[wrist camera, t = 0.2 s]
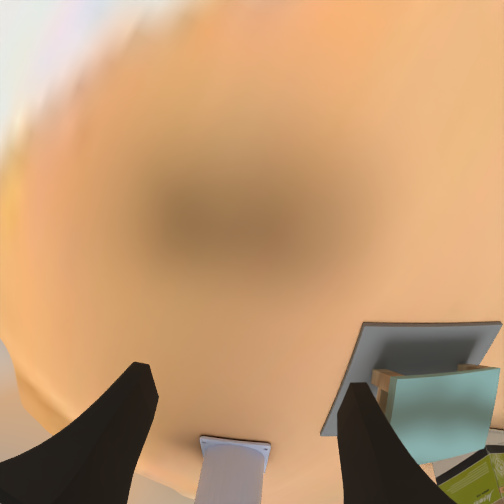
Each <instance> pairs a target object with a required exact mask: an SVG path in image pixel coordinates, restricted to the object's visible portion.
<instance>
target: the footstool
mask: <svg viewBox="0 0 504 504" xmlns="http://www.w3.org/2000/svg"><path fill="white" fill-rule="evenodd" d="M499 374H500V368H495V367H488V366H481V365H474V364H458V367H457V372H448V373H437V374H425V375H410V376H404V375H402V374H399V373H396V372H393V371H390V370H388V369H373V371H372V380H371V384H373V385H375V386H377V387H378V391H377V398H376V400H377V402H378V404H379V406H380V407H381V409H382V411H383V413H384V414H385V416H386V418H387V420H388V421H389V423H390V424H391V426H392V428H393V429H394V431H395V433H396V434H397V436H398V437H399V439H400V440H401V442H402V443H403V445H404V446H405V447H406V449H407V450H408V452H409V453H410V454H411V456H412V457H413V458H414V460H415V461H416V462H417V464H418V465H420V464H425V463H430V462H435V461H439V460H444V459H448V458H452V457H456V456H460V455H463V454H467V453H470V452H474V451H477V450H480V449H484V447H485V444H486V440H487V436H488V432H489V428H490V424H491V419H492V415H493V410H494V405H495V399H496V393H497V387H498V381H499Z"/></svg>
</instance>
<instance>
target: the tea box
mask: <svg viewBox="0 0 504 504" xmlns="http://www.w3.org/2000/svg"><path fill="white" fill-rule="evenodd" d="M432 464H433V469H434V474H435V477H436V482H437V486H438V487H439V488H440V489H441V490H442V491H444V492H445V493H446V494H447V495H448V496H449V497H450V498H451V499H452V500H454V501H455V502H456V503H457V504H504V431H503V430H497V429H490V428H489V432H488V436H487V440H486V444H485V447H484V449H480V450H477V451H474V452H470V453H467V454H463V455H460V456H456V457H452V458H448V459H444V460H439V461H435V462H432Z"/></svg>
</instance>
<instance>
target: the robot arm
mask: <svg viewBox="0 0 504 504" xmlns="http://www.w3.org/2000/svg"><path fill="white" fill-rule="evenodd" d="M158 398H159V396H158V393H157V390H156V386H155V383H154V380H153V376H152V373H151V369H150V366H149V364H144V363H139V362H133V363H132V364H131V365H130V366H129V367H128V368H127V369H126V370H125V372H124V373H123V374H122V375H121V376H120V377H119V378H118V379H117V380H116V381H115V382H114V383H113V384H112V385H111V386H110V387H109V389H108V390H107V391H106V392H105V393H104V394H103V395H102V396H101V397H100V398H99V399H98V400H97V401H95V402H94V403H93V404H92V405H91V406H90V407H89V408H88V409H87V410H86V411H85V412H83V413H82V414H81V415H80V416H79V417H78V418H77V419H75V420H74V421H73V422H72V423H70V424H69V425H68V426H67V427H65V428H64V429H63V430H61V431H60V432H58V433H57V434H55V435H54V436H52V437H51V438H49V439H48V440H46V441H45V442H43V443H42V444H40V445H38V446H36V447H34V448H32V449H30V450H29V451H26V452H24V453H22V454H20V455H18V456H16V457H14V458H11V459H8V460H6V461H3V462H1V463H0V503H1V504H127V500H128V495H129V490H130V486H131V481H132V477H133V473H134V470H135V467H136V464H137V461H138V459H139V456H140V453H141V451H142V448H143V445H144V443H145V440H146V438H147V435H148V432H149V430H150V427H151V424H152V422H153V419H154V415H155V411H156V407H157V402H158ZM337 439H338V447H339V455H340V463H341V471H342V479H343V489H344V504H457V503H456V502H455V501H454V500H452V499H451V498H450V497H449V496H448V495H447V494H446V493H445V492H444V491H442V490H441V489H440V488H439V487H438V486H437V485H436V484H435V483H434V482H433V481H432V480H431V479H430V478H429V476H428V475H427V474H426V473H425V472H424V471H423V470H422V468H421V467H420V466H419V465H418V464H417V462H416V461H415V460H414V458H413V457H412V456H411V454H410V453H409V452H408V450H407V449H406V447H405V446H404V445H403V443H402V442H401V440H400V439H399V437H398V436H397V434H396V433H395V431H394V429H393V428H392V426H391V424H390V423H389V421H388V420H387V418H386V416H385V414H384V413H383V411H382V409H381V407H380V406H379V404H378V402H377V400H376V398H375V396H374V395H373V393H372V391H371V389H370V387H369V385H368V384H367V383H366V382H350V384H349V387H348V389H347V391H346V394H345V396H344V399H343V401H342V403H341V405H340V408H339V410H338V412H337ZM200 444H201V449H202V454H203V458H204V459H203V464H202V469H201V474H200V479H199V483H198V488H197V493H196V498H195V503H194V504H261V497H262V486H263V474H264V473H265V470H266V466H267V461H268V457H269V453H270V448H271V445H270V444H269V443H259V442H247V441H237V440H229V439H221V438H213V437H207V436H201V437H200Z"/></svg>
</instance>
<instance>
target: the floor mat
mask: <svg viewBox="0 0 504 504" xmlns="http://www.w3.org/2000/svg"><path fill="white" fill-rule="evenodd" d="M502 325H503V324H502V323H501V322H481V323H435V324H409V323H363V325H362V328H361V331H360V334H359V337H358V340H357V343H356V346H355V349H354V352H353V354H352V357H351V360H350V363H349V365H348V368H347V371H346V373H345V376H344V379H343V381H342V384H341V386H340V389H339V391H338V394H337V396H336V398H335V401H334V403H333V406H332V408H331V410H330V413H329V415H328V417H327V419H326V422H325V424H324V426H323V428H322V431H321V433H320V436H337V412H338V410H339V408H340V405H341V403H342V401H343V399H344V396H345V394H346V391H347V389H348V387H349V384H350V382H366V383H367V384H368V385H369V387H370V389H371V391H372V393H373V395H374V396H375V398H377V391H378V387H377V386H375V385H373V384H371V380H372V371H373V369H388V370H390V371H393V372H396V373H399V374H402V375H404V376H410V375H425V374H437V373H448V372H457V367H458V364H474V365H479V364H480V362H481V361H482V359H483V358H484V356H485V354H486V353H487V351H488V349H489V348H490V346H491V344H492V343H493V341H494V339H495V337H496V336H497V334H498V332H499V330H500V328H501V326H502Z"/></svg>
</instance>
